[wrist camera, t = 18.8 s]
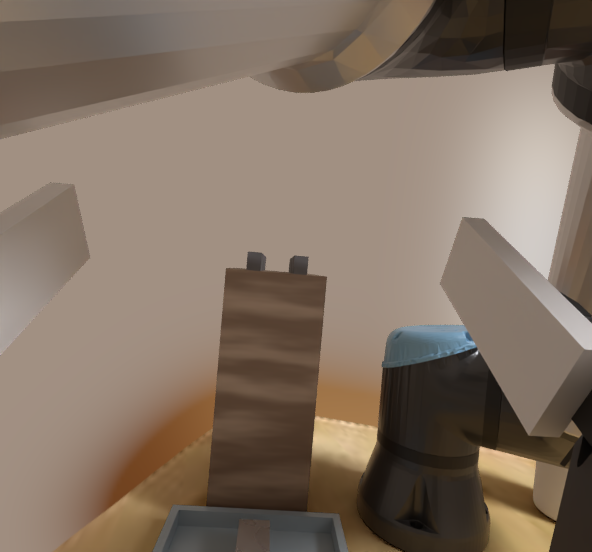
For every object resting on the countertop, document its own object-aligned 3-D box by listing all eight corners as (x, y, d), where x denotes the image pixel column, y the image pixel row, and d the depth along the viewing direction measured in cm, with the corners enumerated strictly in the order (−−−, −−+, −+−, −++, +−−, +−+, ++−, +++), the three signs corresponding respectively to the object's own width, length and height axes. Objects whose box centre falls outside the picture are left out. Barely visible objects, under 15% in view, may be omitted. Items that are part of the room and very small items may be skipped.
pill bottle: (623, 539, 46) (636, 414, 46) (550, 528, 47) (562, 405, 47) (583, 500, 54) (593, 393, 53) (521, 491, 55) (531, 386, 54)
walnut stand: (305, 528, 43) (328, 258, 42) (205, 523, 42) (227, 249, 42) (297, 458, 59) (314, 261, 58) (224, 453, 58) (241, 254, 58)
